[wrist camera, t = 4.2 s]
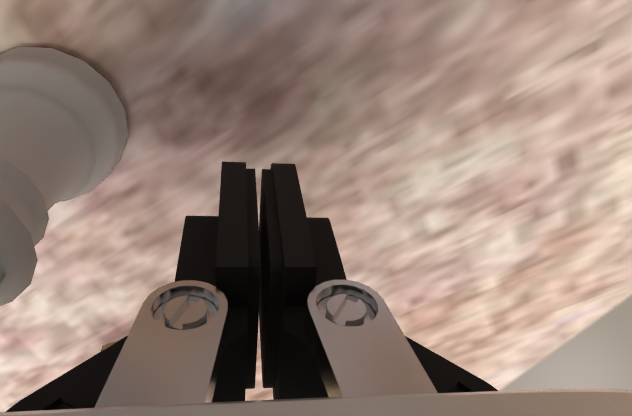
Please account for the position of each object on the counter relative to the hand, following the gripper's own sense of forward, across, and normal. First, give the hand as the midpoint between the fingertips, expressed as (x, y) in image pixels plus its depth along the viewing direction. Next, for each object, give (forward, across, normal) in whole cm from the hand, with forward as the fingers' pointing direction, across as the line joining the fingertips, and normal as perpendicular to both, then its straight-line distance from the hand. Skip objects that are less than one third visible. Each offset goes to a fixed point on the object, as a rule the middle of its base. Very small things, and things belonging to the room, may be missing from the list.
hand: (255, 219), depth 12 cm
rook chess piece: (+6, +6, 0) cm, 8 cm away
